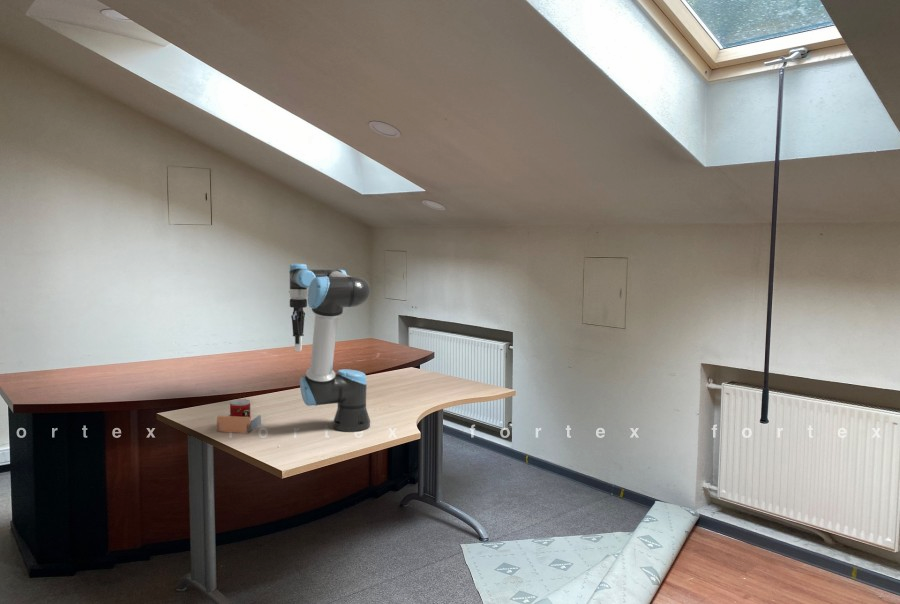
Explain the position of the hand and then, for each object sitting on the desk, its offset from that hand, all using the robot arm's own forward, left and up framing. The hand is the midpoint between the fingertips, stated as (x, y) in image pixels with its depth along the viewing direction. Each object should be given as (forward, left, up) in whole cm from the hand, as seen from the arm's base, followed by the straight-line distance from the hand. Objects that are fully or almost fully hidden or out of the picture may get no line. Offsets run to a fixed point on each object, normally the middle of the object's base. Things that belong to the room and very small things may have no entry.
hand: (298, 350), depth 278 cm
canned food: (+13, +33, -27) cm, 44 cm away
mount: (+14, +32, -26) cm, 44 cm away
